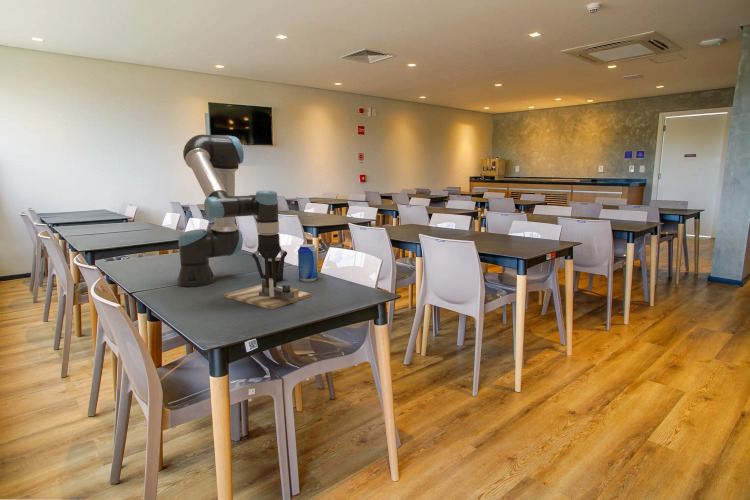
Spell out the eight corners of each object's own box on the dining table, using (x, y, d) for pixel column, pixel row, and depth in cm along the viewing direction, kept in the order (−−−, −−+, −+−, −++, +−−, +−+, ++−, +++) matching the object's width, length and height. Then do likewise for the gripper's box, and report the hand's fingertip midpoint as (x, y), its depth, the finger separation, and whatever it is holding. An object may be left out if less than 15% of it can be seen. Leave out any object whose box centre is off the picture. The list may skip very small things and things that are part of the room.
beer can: (295, 281, 195) (294, 246, 193) (305, 277, 203) (304, 243, 200) (311, 282, 192) (310, 247, 189) (321, 278, 200) (320, 244, 197)
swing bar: (264, 293, 168) (263, 282, 167) (270, 291, 170) (270, 280, 169) (287, 299, 159) (287, 287, 158) (294, 297, 161) (293, 286, 160)
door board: (224, 297, 171) (222, 279, 170) (263, 286, 187) (263, 270, 186) (271, 309, 155) (270, 290, 154) (311, 296, 171) (310, 279, 170)
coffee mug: (280, 283, 192) (279, 261, 190) (262, 282, 193) (261, 260, 192) (290, 277, 203) (289, 256, 201) (273, 276, 205) (272, 255, 203)
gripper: (285, 231, 163) (288, 291, 168) (249, 232, 160) (253, 294, 164) (287, 234, 156) (290, 297, 160) (250, 235, 153) (253, 300, 157)
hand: (271, 295), depth 162 cm, fingers closed
